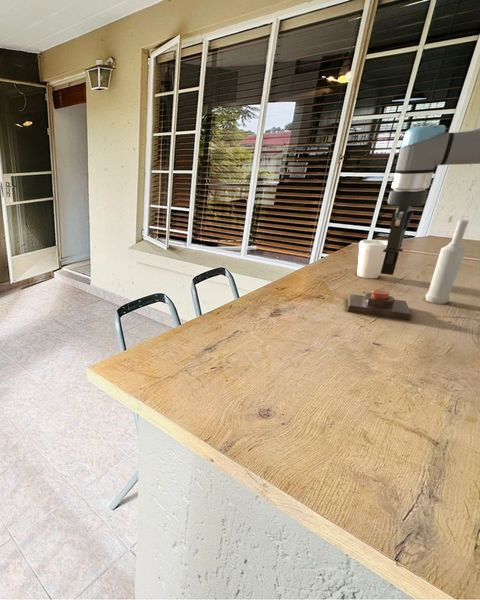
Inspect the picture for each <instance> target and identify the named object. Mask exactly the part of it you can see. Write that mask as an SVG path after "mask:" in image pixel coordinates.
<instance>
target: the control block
mask: <svg viewBox="0 0 480 600" xmlns="http://www.w3.org/2000/svg"><path fill="white" fill-rule="evenodd" d="M371 293H372V292H368V293H367V292H366V293H365V294H364V295H361V294H354V293H353V294H352V293H348V296H347V312H350V313H356V314H363V315H370V316H378V317H383V318H391V319H398V320H403V321H410V319H411V316H412V312H411V311H410V307H409V305H408V303H407V301H406V300H401V299H395V297H393V296H391V295H389V297H388V300H380V299H374V298H372V297H371Z"/></svg>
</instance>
